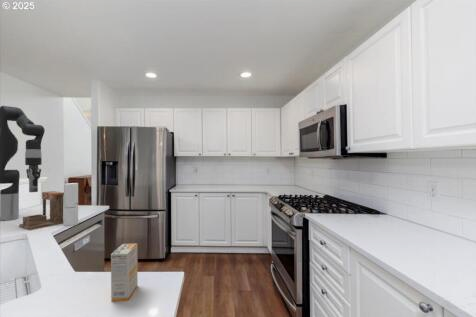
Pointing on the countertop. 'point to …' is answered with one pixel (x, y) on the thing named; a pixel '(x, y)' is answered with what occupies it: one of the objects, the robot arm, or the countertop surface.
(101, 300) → the countertop surface
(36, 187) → the steel peg
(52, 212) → the wooden frame stand
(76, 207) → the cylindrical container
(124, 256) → the supplement box
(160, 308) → the countertop surface
